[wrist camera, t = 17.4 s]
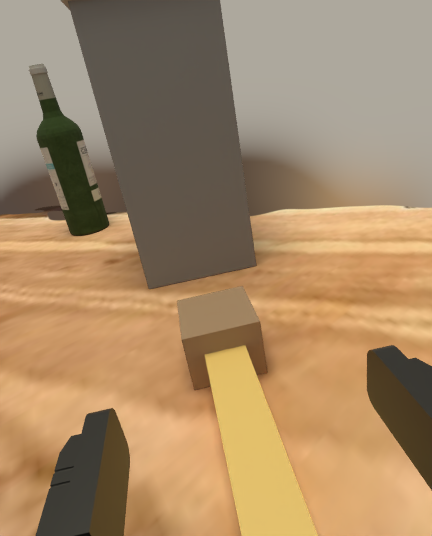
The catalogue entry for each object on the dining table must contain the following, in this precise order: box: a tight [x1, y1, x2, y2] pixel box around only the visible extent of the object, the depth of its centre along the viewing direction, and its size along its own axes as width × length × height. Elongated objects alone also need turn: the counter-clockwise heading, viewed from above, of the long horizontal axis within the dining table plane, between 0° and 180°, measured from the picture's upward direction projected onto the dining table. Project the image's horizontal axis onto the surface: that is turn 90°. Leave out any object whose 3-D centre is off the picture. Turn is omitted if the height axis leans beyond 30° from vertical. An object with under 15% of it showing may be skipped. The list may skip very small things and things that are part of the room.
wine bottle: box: [29, 64, 109, 236], centre depth 70 cm, size 8×8×30 cm
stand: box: [61, 0, 256, 289], centre depth 48 cm, size 17×15×32 cm
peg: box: [177, 286, 318, 536], centre depth 25 cm, size 21×6×5 cm, turn 9°
